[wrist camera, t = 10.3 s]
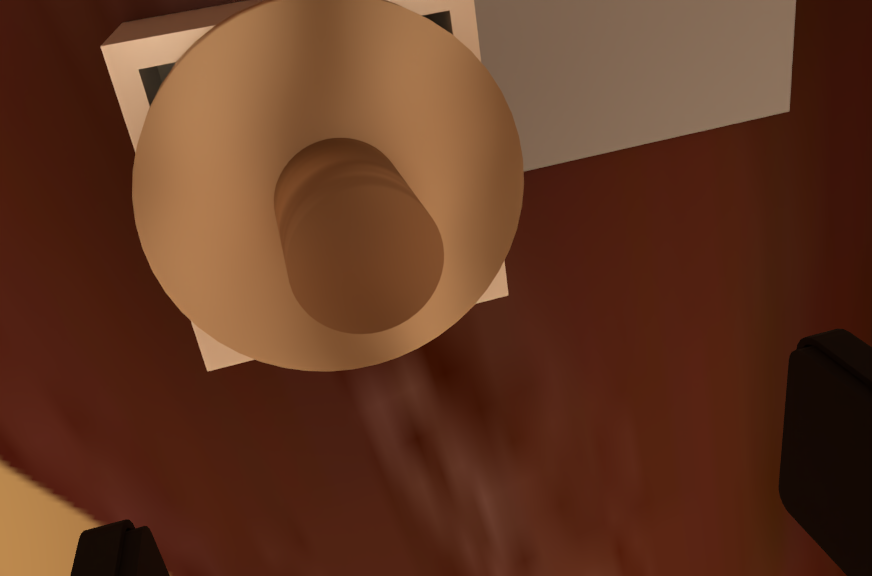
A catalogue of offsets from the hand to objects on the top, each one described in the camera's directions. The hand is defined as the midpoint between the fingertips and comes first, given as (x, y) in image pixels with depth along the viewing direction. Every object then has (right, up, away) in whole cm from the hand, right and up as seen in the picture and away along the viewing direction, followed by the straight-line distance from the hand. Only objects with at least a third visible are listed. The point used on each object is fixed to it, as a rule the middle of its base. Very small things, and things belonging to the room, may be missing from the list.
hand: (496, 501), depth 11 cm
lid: (-4, +6, +14) cm, 16 cm away
